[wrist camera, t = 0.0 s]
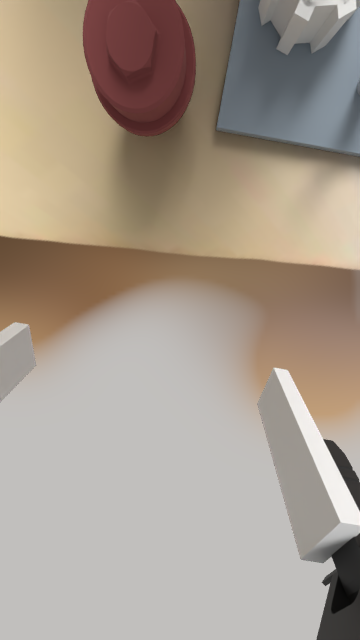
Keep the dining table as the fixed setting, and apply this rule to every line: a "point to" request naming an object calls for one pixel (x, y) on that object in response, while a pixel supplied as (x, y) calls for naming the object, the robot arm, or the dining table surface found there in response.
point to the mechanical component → (140, 61)
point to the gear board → (293, 86)
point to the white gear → (306, 20)
